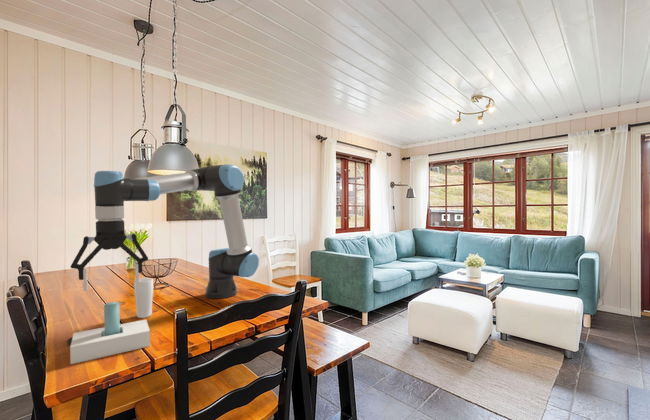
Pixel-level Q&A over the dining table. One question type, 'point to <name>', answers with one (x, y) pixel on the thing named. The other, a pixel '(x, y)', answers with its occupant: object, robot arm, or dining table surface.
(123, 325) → the socket block
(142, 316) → the drinking glass
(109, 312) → the teal peg
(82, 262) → the robot arm
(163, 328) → the dining table surface
